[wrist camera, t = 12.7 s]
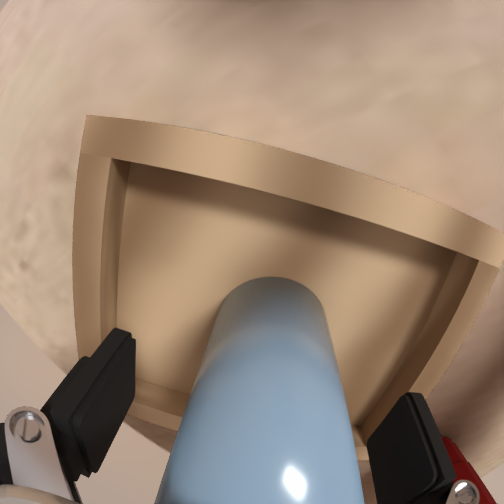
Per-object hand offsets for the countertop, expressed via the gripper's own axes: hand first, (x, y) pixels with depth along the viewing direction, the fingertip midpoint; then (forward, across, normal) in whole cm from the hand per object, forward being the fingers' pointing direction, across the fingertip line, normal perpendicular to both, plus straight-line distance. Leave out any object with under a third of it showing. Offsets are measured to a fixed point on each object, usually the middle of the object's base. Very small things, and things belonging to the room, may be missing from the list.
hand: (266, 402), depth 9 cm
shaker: (+5, 0, 0) cm, 5 cm away
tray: (+6, 0, 0) cm, 6 cm away
